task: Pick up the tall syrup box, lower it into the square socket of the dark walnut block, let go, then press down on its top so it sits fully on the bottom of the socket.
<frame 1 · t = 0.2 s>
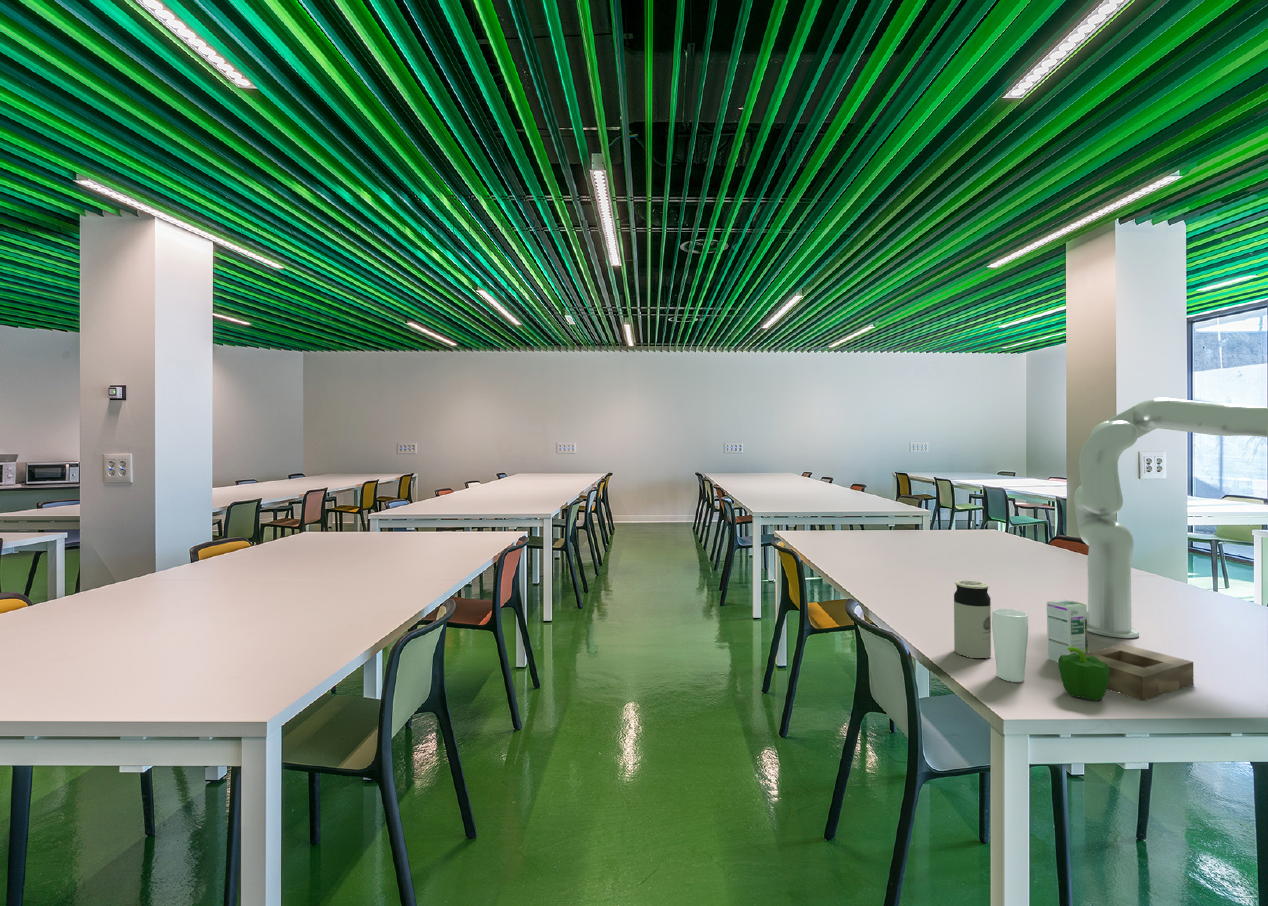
travel mug: (972, 655, 142), on the table
bell pepper: (1083, 696, 118), on the table
drinking glass: (1010, 679, 127), on the table
syrup box: (1067, 662, 137), on the table
walnut socket block: (1131, 681, 125), on the table
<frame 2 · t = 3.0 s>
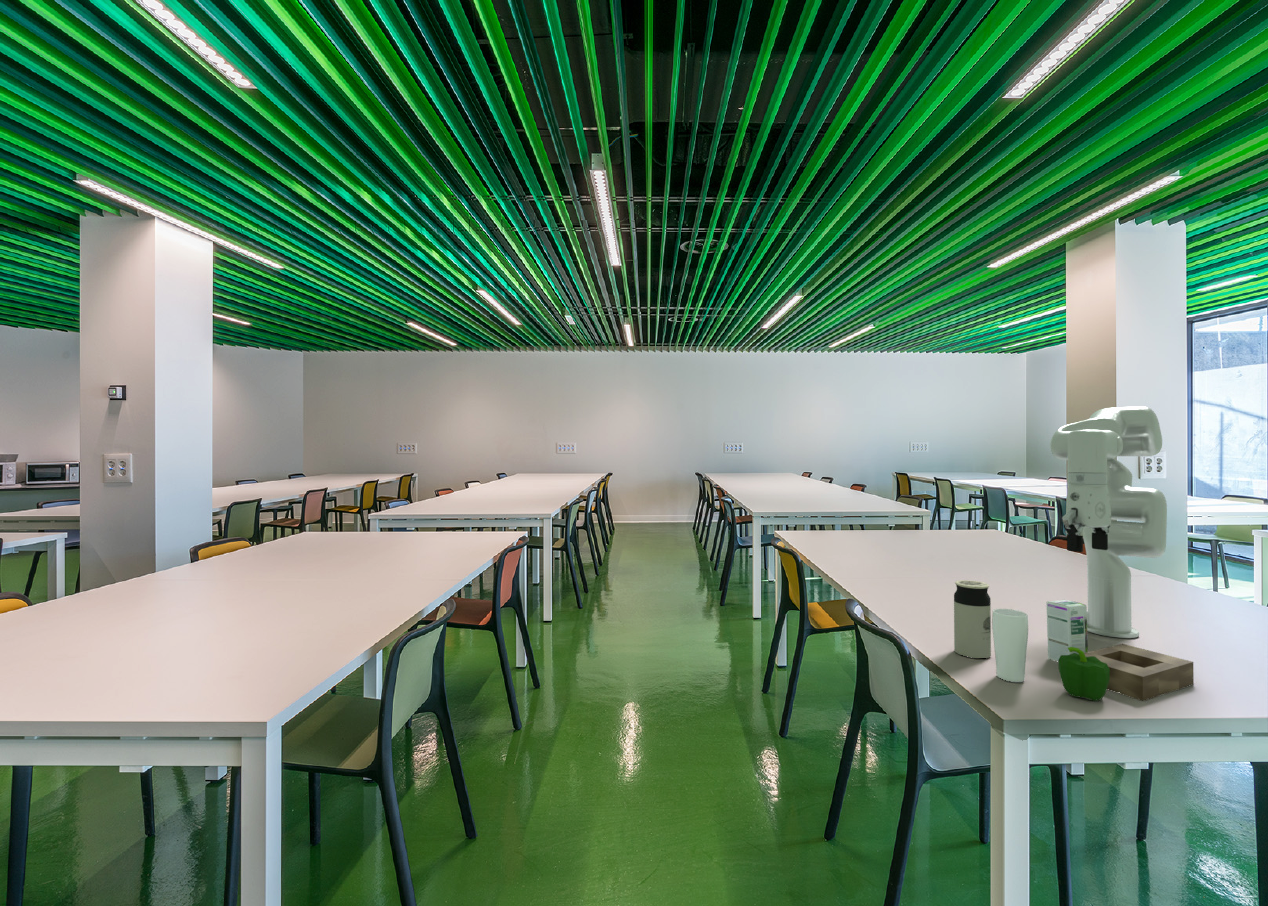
hand: (1087, 550, 137), 27 cm above the table, tool pointing down, fingers open, 9 cm apart
nothing on the table moved.
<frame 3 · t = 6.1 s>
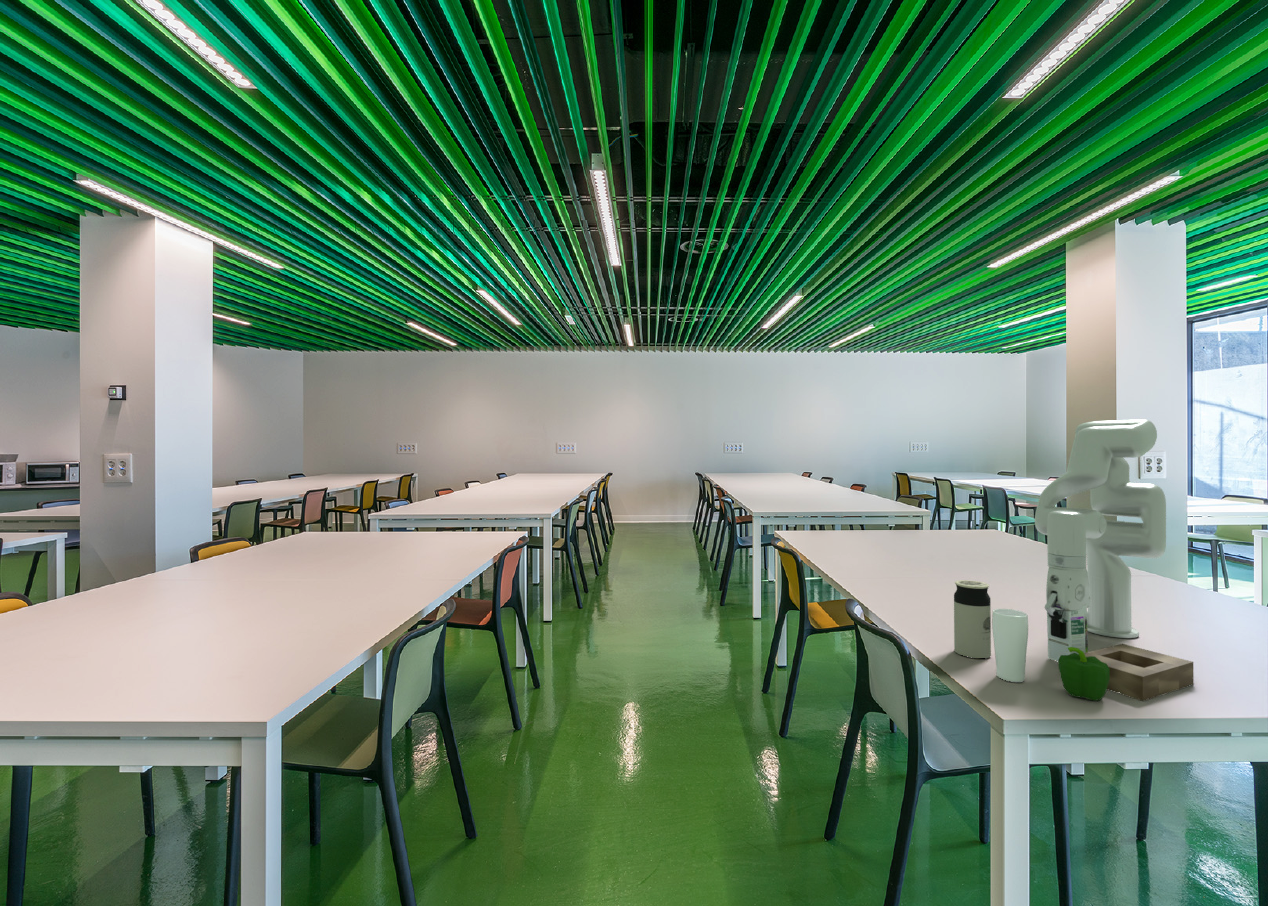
hand: (1067, 634, 137), 7 cm above the table, tool pointing down, fingers closed on syrup box, 6 cm apart
syrup box: (1067, 662, 137), on the table, touching gripper
everything else where it was.
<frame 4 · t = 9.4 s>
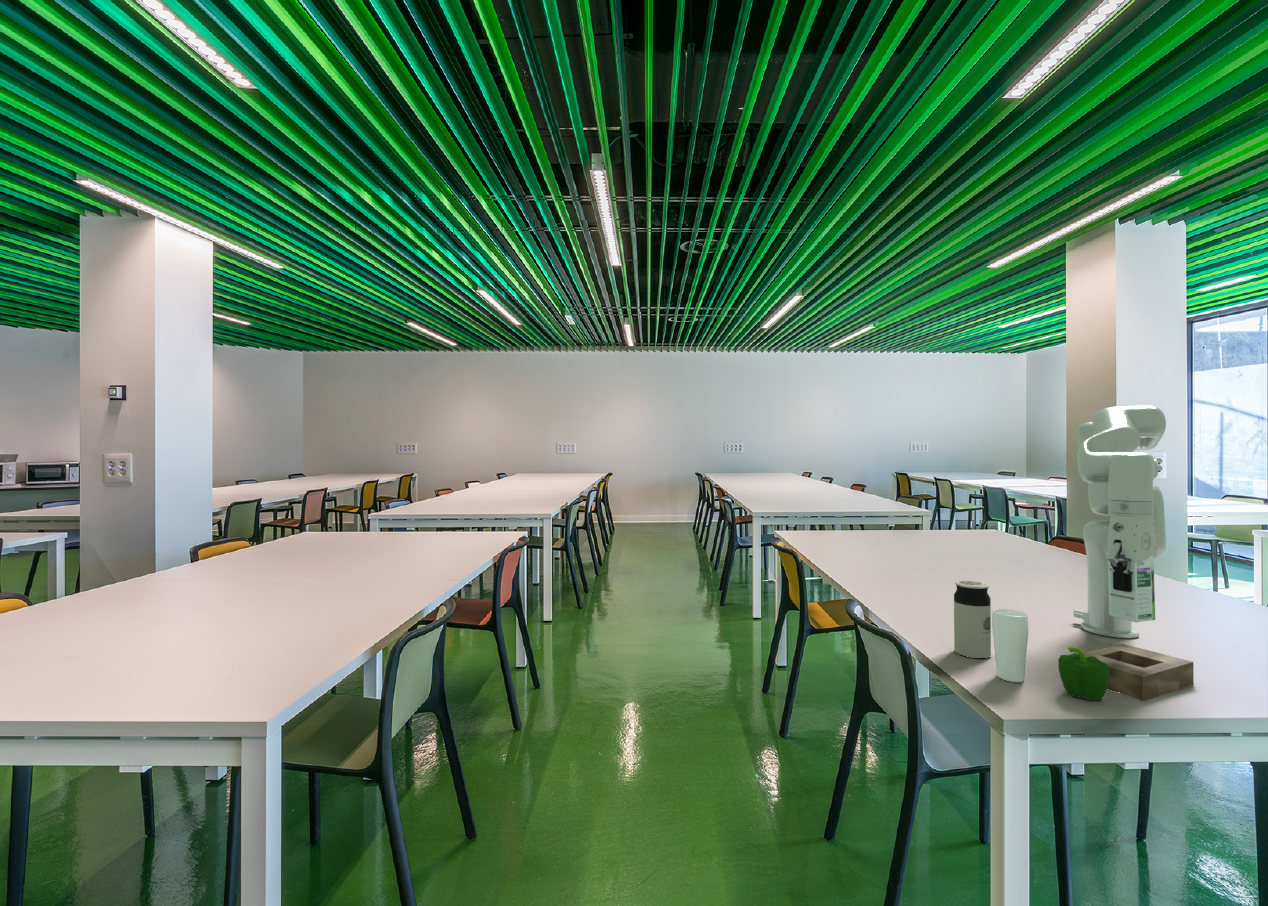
hand: (1131, 588, 125), 21 cm above the table, tool pointing down, fingers closed on syrup box, 6 cm apart
syrup box: (1131, 619, 125), point 14 cm above the table, touching gripper
everything else where it was.
when the fingers open (7 cm above the table, at t = 12.8 s): syrup box stays where it is, resting in walnut socket block.
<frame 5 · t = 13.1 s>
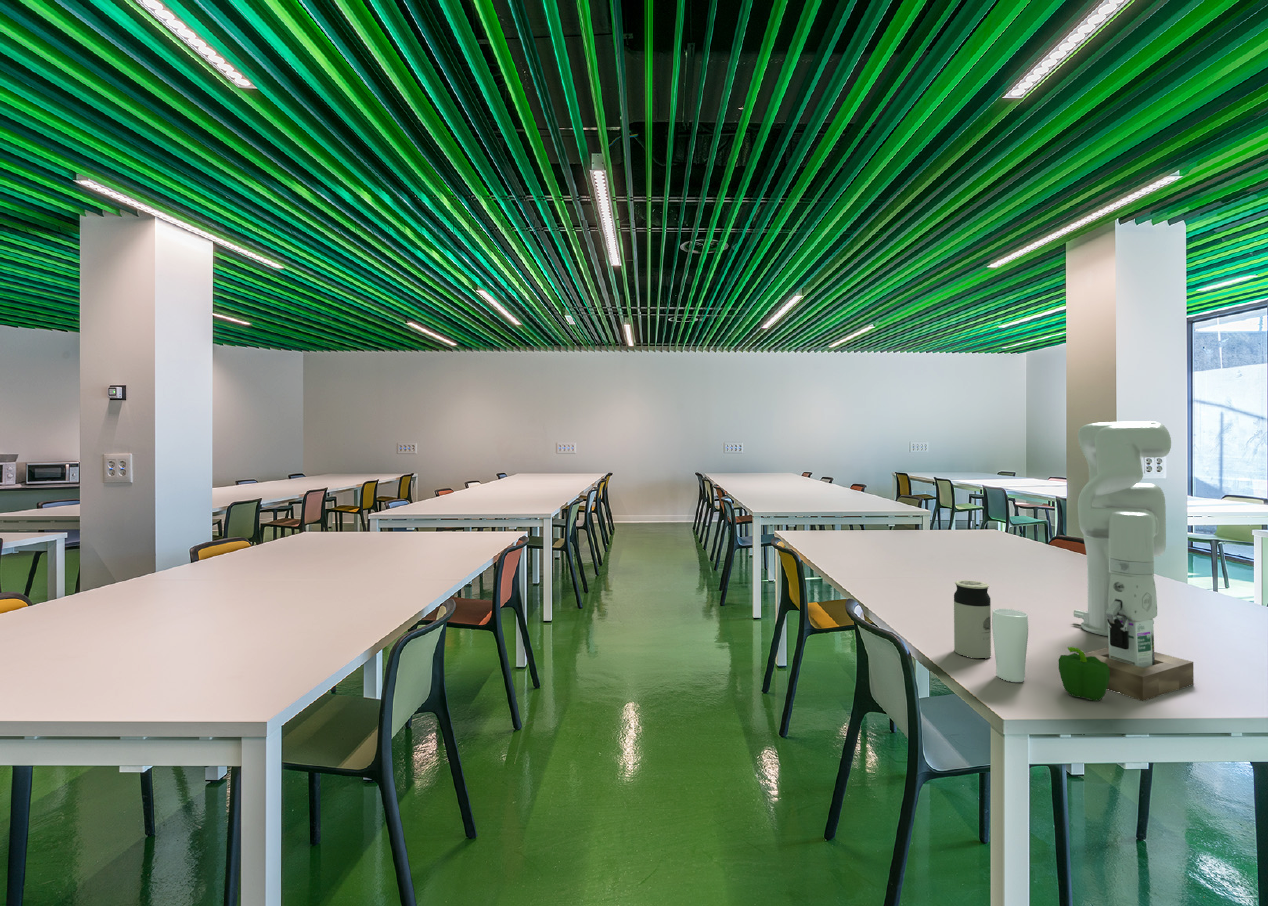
hand: (1131, 644, 125), 8 cm above the table, tool pointing down, fingers open, 9 cm apart
syrup box: (1131, 682, 125), resting in walnut socket block
everything else where it was.
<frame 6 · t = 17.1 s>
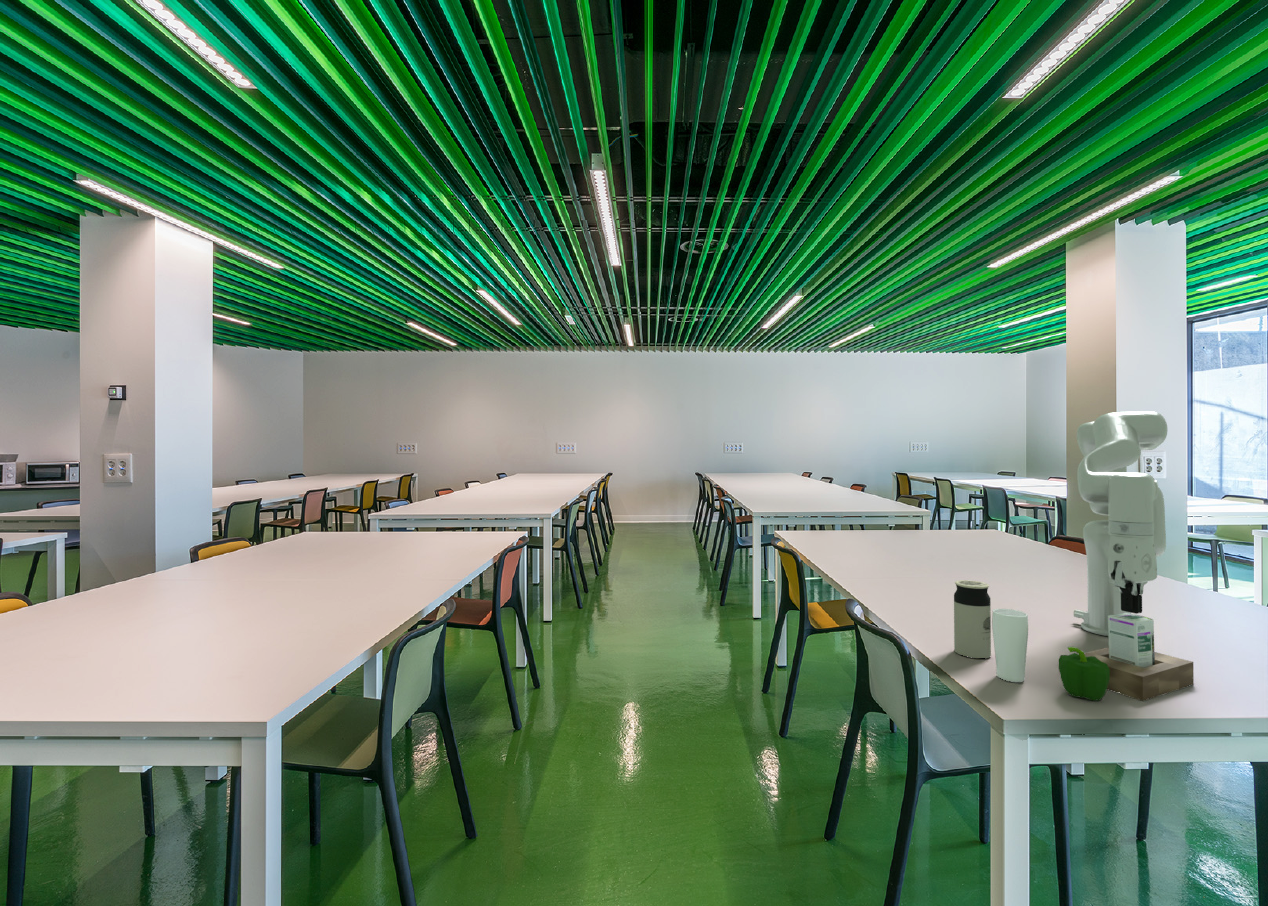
hand: (1131, 611, 125), 16 cm above the table, tool pointing down, fingers closed
nothing on the table moved.
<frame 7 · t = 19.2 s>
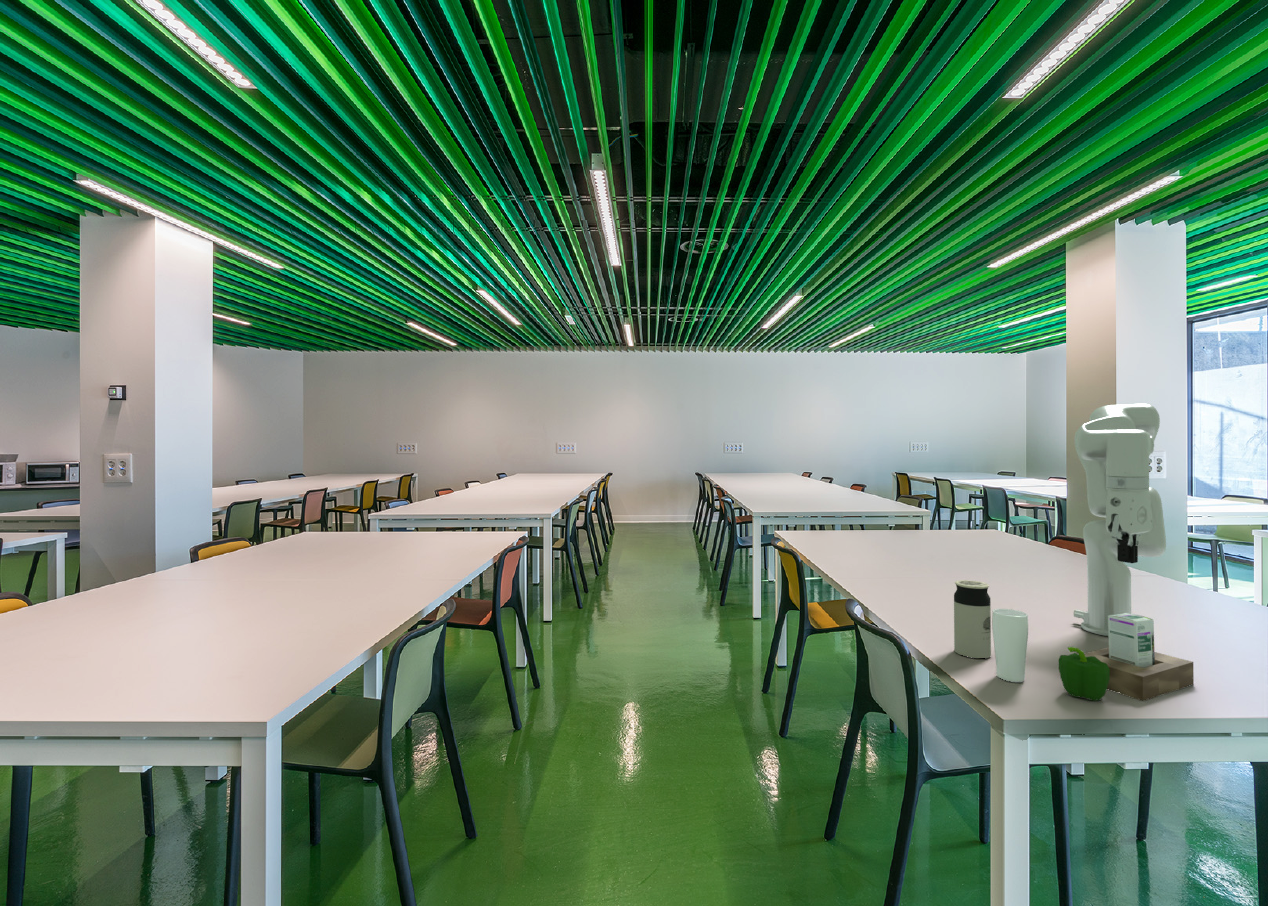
hand: (1127, 561, 131), 25 cm above the table, tool pointing down, fingers closed
nothing on the table moved.
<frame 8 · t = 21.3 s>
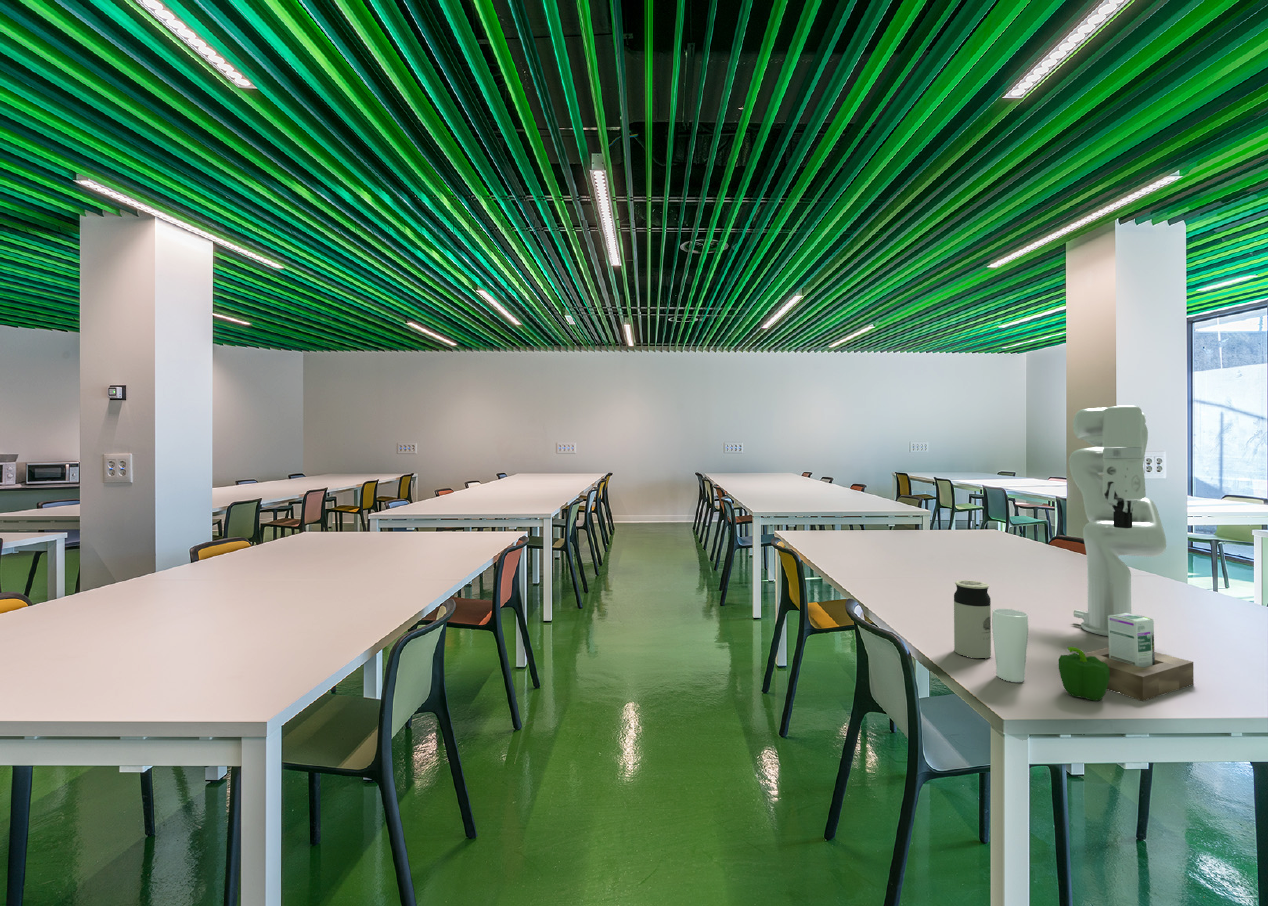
hand: (1122, 527, 141), 32 cm above the table, tool pointing down, fingers closed
nothing on the table moved.
at the end: syrup box 0.1 cm off-centre on the walnut socket block, point 0.0 cm above the walnut socket block's base; syrup box tilted 0°; the gripper is holding nothing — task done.
